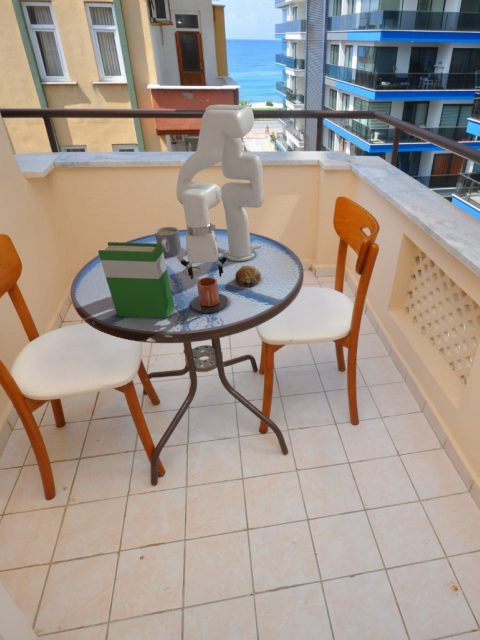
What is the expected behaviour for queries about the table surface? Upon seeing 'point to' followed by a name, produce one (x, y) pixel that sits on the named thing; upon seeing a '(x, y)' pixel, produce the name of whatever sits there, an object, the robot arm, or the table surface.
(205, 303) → the wooden mug
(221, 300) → the saucer
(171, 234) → the coffee mug
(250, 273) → the bread roll
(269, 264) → the table surface
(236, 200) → the robot arm
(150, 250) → the hardback book
